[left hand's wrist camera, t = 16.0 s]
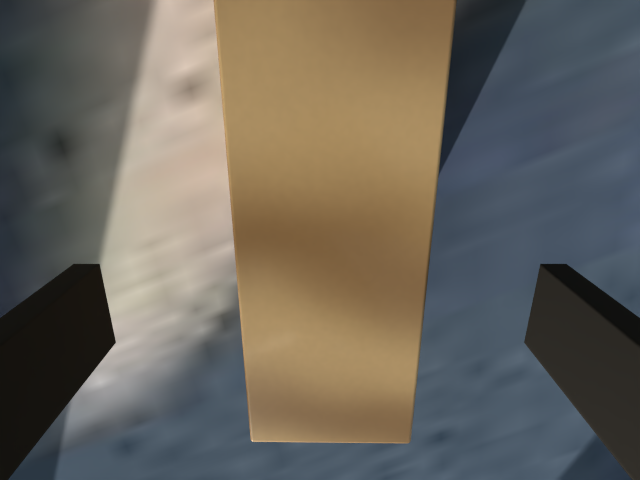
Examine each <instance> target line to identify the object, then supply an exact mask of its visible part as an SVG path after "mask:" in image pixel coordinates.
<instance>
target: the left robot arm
mask: <svg viewBox="0 0 640 480" xmlns="http://www.w3.org/2000/svg"><path fill="white" fill-rule="evenodd" d="M115 343H116V341H115V336H114V332H113V327H112V322H111V317H110V312H109V307H108V303H107V298H106V293H105V288H104V283H103V279H102V274H101V269H100V264H73V265H72V266H70V267H69V268H68V269H66V270H65V271H64V272H62V273H61V274H60V275H58V276H57V277H55V278H54V279H53V280H51V281H50V282H49V283H47V284H46V285H45V286H43V287H42V288H41V289H39V290H38V291H36V292H35V293H34V294H32V295H31V296H30V297H28V298H27V299H26V300H24V301H23V302H22V303H20V304H19V305H17V306H16V307H15V308H13V309H12V310H11V311H9V312H8V313H7V314H5V315H4V316H3V317H1V318H0V480H8V479H9V478H10V476H11V475H12V474H13V473H14V471H15V470H16V469H17V467H18V466H19V465H20V464H21V462H22V461H23V460H24V459H25V457H26V456H27V455H28V453H29V452H30V451H31V450H32V448H33V447H34V446H35V445H36V443H37V442H38V441H39V439H40V438H41V437H42V436H43V434H44V433H45V432H46V431H47V429H48V428H49V427H50V425H51V424H52V423H53V422H54V420H55V419H56V418H57V417H58V415H59V414H60V413H61V411H62V410H63V409H64V408H65V406H66V405H67V404H68V403H69V401H70V400H71V399H72V397H73V396H74V395H75V394H76V392H77V391H78V390H79V389H80V387H81V386H82V385H83V383H84V382H85V381H86V380H87V378H88V377H89V376H90V375H91V373H92V372H93V371H94V369H95V368H96V367H97V366H98V364H99V363H100V362H101V361H102V359H103V358H104V357H105V356H106V354H107V353H108V352H109V350H110V349H111V348H112V347H113V345H114V344H115ZM524 343H525V344H526V345H527V347H528V348H529V349H530V350H531V352H532V353H533V354H534V356H535V357H536V358H537V359H538V361H539V362H540V363H541V364H542V366H543V367H544V368H545V370H546V371H547V372H548V373H549V375H550V376H551V377H552V378H553V380H554V381H555V382H556V383H557V385H558V386H559V387H560V389H561V390H562V391H563V392H564V394H565V395H566V396H567V397H568V399H569V400H570V401H571V403H572V404H573V405H574V406H575V408H576V409H577V410H578V411H579V413H580V414H581V415H582V417H583V418H584V419H585V420H586V422H587V423H588V424H589V425H590V427H591V428H592V429H593V431H594V432H595V433H596V434H597V436H598V437H599V438H600V439H601V441H602V442H603V443H604V445H605V446H606V447H607V448H608V450H609V451H610V452H611V453H612V455H613V456H614V457H615V459H616V460H617V461H618V462H619V464H620V465H621V466H622V467H623V469H624V470H625V471H626V473H627V474H628V475H629V476H630V478H631V479H632V480H640V318H639V317H637V316H636V315H635V314H633V313H632V312H631V311H629V310H628V309H627V308H625V307H624V306H623V305H621V304H620V303H618V302H617V301H616V300H614V299H613V298H612V297H610V296H609V295H608V294H606V293H605V292H604V291H602V290H601V289H599V288H598V287H597V286H595V285H594V284H593V283H591V282H590V281H589V280H587V279H586V278H585V277H583V276H582V275H580V274H579V273H578V272H576V271H575V270H574V269H572V268H571V267H570V266H568V265H567V264H540V269H539V274H538V279H537V283H536V288H535V293H534V298H533V303H532V307H531V312H530V317H529V322H528V327H527V332H526V336H525V341H524Z"/></svg>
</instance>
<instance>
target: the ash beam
mask: <svg viewBox="0 0 640 480" xmlns="http://www.w3.org/2000/svg"><path fill="white" fill-rule="evenodd" d="M456 3H457V0H214V10H215V22H216V33H217V45H218V57H219V69H220V81H221V93H222V105H223V117H224V129H225V141H226V153H227V164H228V176H229V188H230V200H231V212H232V224H233V236H234V248H235V260H236V272H237V283H238V295H239V307H240V319H241V331H242V343H243V355H244V367H245V379H246V391H247V402H248V414H249V426H250V438H251V441H253V442H341V443H410V441H411V433H412V423H413V414H414V404H415V395H416V385H417V375H418V366H419V356H420V347H421V337H422V328H423V318H424V309H425V299H426V290H427V280H428V270H429V261H430V251H431V242H432V232H433V223H434V213H435V204H436V194H437V185H438V175H439V165H440V156H441V146H442V137H443V127H444V118H445V108H446V99H447V89H448V79H449V70H450V60H451V51H452V41H453V32H454V22H455V13H456Z"/></svg>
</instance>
